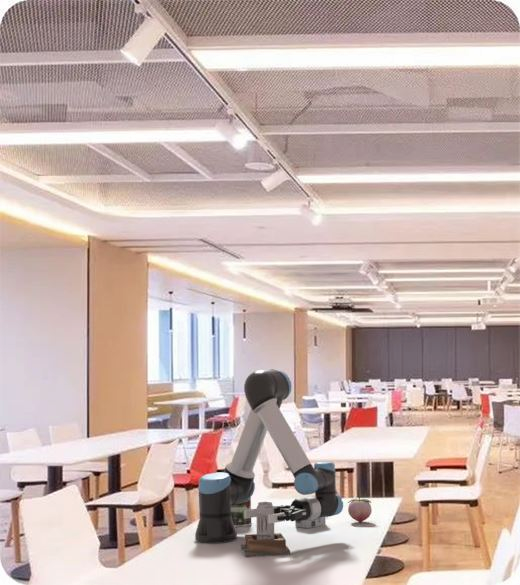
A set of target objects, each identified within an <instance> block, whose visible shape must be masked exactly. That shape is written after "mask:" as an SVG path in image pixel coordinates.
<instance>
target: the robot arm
mask: <svg viewBox="0 0 520 585" xmlns="http://www.w3.org/2000/svg"><path fill="white" fill-rule="evenodd" d="M243 387H244V388H243V390H244V391H243V392H244V395H245V398H246V401H247V403H248V406H249V407H250V409H249V412H248V415H247V419H246V420H245V421H246V422H245V424H244V427H243V429H242V431H241V435H240V438H239V440H238V442H237V446H236V448H235V450H234V451H235V452H234V454H233V457H232V458H231V459H232V460H231V461H230V462H229V463H226V465H225V467H224V470H223V471H221V472H212V473H207V474H204V475H202V476H201V477H200V478H199V479H198V487H197V490H198V498H199V499H198V504H199V505H198V507H199V510H198V511H199V520H198V523H197V527H196V530H195V534H194V539H195V542H199V543H203V544H221V543H222V544H223V543H228V542H234V541H235V540H237V538H238V536H237V535H238V534H237V530H236V527H235V526H234V524H233V521H232V517H231V506H233V505H236V504H241V503H244V502H245V501H247V500H248V499H249V498H250V497H252V496H253V494H254V493H255V490H256V485H255V484H256V483H255V482H254V481H255V480H254V479H255V476H256V475H255V473H254V467H255V465H256V462H257V460H258V456H259V454H260V452H261V448H262V446H263V444H264V441H265V438H266V435H267V433H268V434H269V436H270V437H271V439H272V441H273V443H274V444H275V446H276V448H277V449H278V452H279V454H281V457H282V458H283V460H284V461H285V464H286V465H287V467H288V468H289V470H290V472H291V474H292V476H293V477H294V480H293V486H294V490H295V491H296V492H297V493H298V494H300V495H304V496H306V495H307V496H308V495H312V494H314V496H315V497H309V496H308V497H309V498H304V499H297V498H296V499H297V500H295V499H294V500H292V502H291V504H288V505H284V504H280V505H273V507H274V514H271V515H268V523H274V524H276V523H280V522H285V521H286V522H289V521H290V522H295V520H296V521H304V520H309V519H310V520H311V521H313V518H314V519H315V518H321V517H325V518H327V517H333V516H337V515H339V514H341V512H343V509H344V501H343V499H342V497H341V495H339V493H338V494H336V491H337V488H336V486H337V485H336V473H337V472H336V466H335V463H334V462H332V461H316V462H314V466H313V464H312V463H311V461H310V459H309V458H308V456H307V455H306V453H305V450H303V447H302V445H301V444H300V442H299V440H298V439H297V437H296V435H295V433H294V431H293V430H292V428H291V426H290V425H289V423H288V422H287V420H286V418H285V416H284V414H283V413H282V411H281V407H282V403H283V401H284V400H286V399H287V398H288V397H289V396H290V394H291V392H292V388H293V386H292V382H291V378H290V377H289V375H288V374H287V373H286V372H284V371H282V370H280V369H276V368H275V369H274V368H273V369H272V368H271V369H265V370H261V369H260V370H256V371H253V372H252V373H250V374H249V375H247V378H246V379H245V382H244V386H243ZM244 518H251V519H252V518H256V508H251V509H250V510H244Z"/></svg>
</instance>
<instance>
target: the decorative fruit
mask: <svg viewBox="0 0 520 585" xmlns="http://www.w3.org/2000/svg"><path fill="white" fill-rule="evenodd" d="M347 504H348V509H347V511H348V512H347V513H348V515H349V516H350V517H351V519H353V520H354V521H356V522H358V523H363V522H364V521H366V520H367V519H369V518H370V516H371V514H372V511H373V510H372V506H371V504H372V501H371V500H369V499H367V498H362V499H361V497H360V496H358V498H356V499H355V498H354V499H351V500H349V501H348V502H347Z"/></svg>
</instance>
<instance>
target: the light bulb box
mask: <svg viewBox="0 0 520 585" xmlns="http://www.w3.org/2000/svg"><path fill="white" fill-rule="evenodd" d="M309 497H315V495H310V496H305V497H304V496H303V497H298V498H294V500H297V499H304V498H309ZM294 524H295V527H296V528H297V527H298V528H303V529H310V528H316V527H322V526H326V517H321V518H315V519H314V518H313V521H311V520H310V519H309V520H304V521H296V520H295V521H294Z"/></svg>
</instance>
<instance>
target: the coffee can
mask: <svg viewBox="0 0 520 585" xmlns="http://www.w3.org/2000/svg"><path fill="white" fill-rule="evenodd" d="M251 497H252V496H251ZM251 497H250V498H249V499H248V500H247V501H245V502H244V503H241V504H236V505H233V506H231V517H232V521H233V524H234V526H235V528H242V527H243V528H244V527H248V526H251V525H252V518H244V510H250V509H252V498H251Z"/></svg>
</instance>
